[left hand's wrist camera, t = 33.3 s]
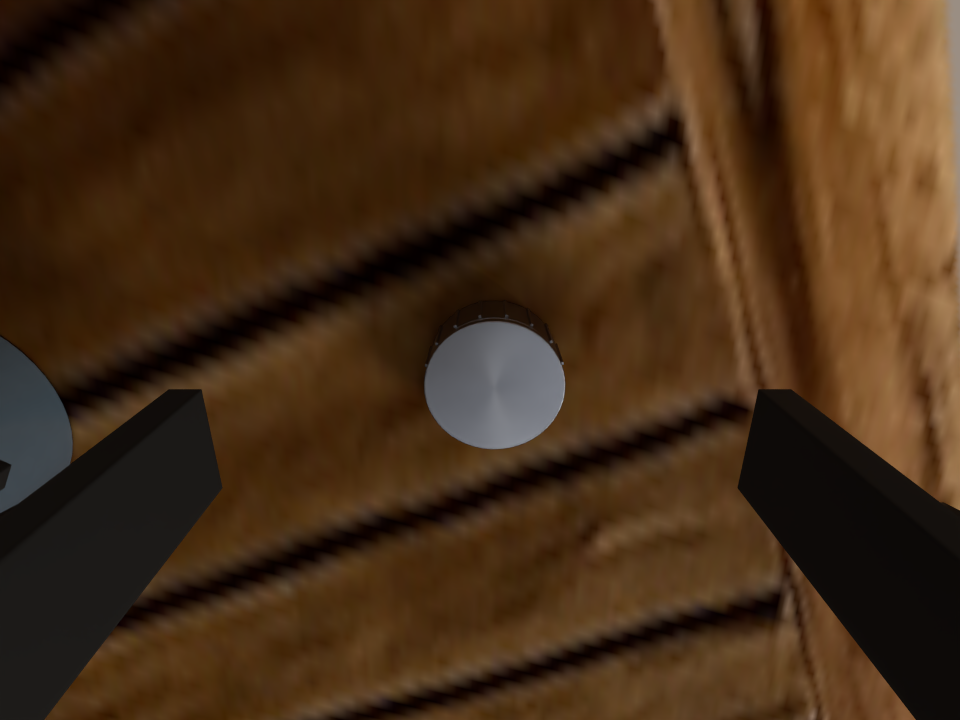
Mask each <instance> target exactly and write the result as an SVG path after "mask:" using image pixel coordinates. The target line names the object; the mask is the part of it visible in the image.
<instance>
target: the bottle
mask: <svg viewBox="0 0 960 720" xmlns="http://www.w3.org/2000/svg"><path fill="white" fill-rule="evenodd" d="M72 453H73V437H72V429H71V425H70V421H69V418H68V415H67V412H66V410H65V407H64V405H63V403H62V401H61V399H60V397H59V395H58V394H57V392H56V390H55V389H54V387H53V386H52V384H51V383H50V382H49V380H48V379H47V377H46V376H45V375H44V374H43V373H42V372H41V370H40V369H39V368H38V367H37V366H36V365H35V364H34V363H33V362H32V361H31V360H30V359H29V358H28V357H27V356H26V355H25V354H24V353H23V352H21V351H20V350H19V349H17V348H16V347H15V346H14V345H12V344H11V343H10V342H9V341H7V340H5V339H4V338H2V337H1V336H0V460H2V461H4V462H6V463H9V464H11V469H10V472H9V475H8V479H7V482H6V486H5V488H4V489H2V490H1V491H0V513H1V512H3V511H5V510H7V509H9V508H11V507H13V506H15V505H17V504H19V503H20V502H21V501H23V500H24V499H25V498H27V497H28V496H29V495H30V494H32V493H33V492H34V491H36V490H37V489H38V488H40V487H41V486H42V485H44V484H45V483H46V482H48V481H49V480H50V479H52V478H53V477H54V476H56V475H57V474H58V473H59V472H61V471H62V470H63V469H65V468H66V467H67V466H69V465H70V462H71V458H72Z"/></svg>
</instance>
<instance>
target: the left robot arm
mask: <svg viewBox="0 0 960 720" xmlns="http://www.w3.org/2000/svg"><path fill="white" fill-rule="evenodd" d="M221 489H222V484H221V479H220V475H219V470H218V465H217V460H216V456H215V451H214V446H213V442H212V437H211V432H210V427H209V423H208V418H207V413H206V409H205V404H204V399H203V395H202V390H201V389H169V390H167V391H166V392H165V393H164V394H162V395H161V396H160V397H158V398H157V399H156V400H154V401H153V402H152V403H150V404H149V405H148V406H146V407H145V408H144V409H142V410H141V411H140V412H139V413H137V414H136V415H135V416H133V417H132V418H131V419H129V420H128V421H127V422H125V423H124V424H123V425H121V426H120V427H119V428H117V429H116V430H115V431H113V432H112V433H111V434H110V435H108V436H107V437H106V438H104V439H103V440H102V441H100V442H99V443H98V444H96V445H95V446H94V447H92V448H91V449H90V450H88V451H87V452H86V453H85V454H83V455H82V456H81V457H79V458H78V459H77V460H75V461H74V462H73V463H71V464H70V465H69V466H67V467H66V468H65V469H63V470H62V471H61V472H59V473H58V474H57V475H56V476H54V477H53V478H52V479H50V480H49V481H48V482H46V483H45V484H44V485H42V486H41V487H40V488H38V489H37V490H36V491H34V492H33V493H32V494H30V495H29V496H28V497H27V498H25V499H24V500H23V501H21V502H20V503H19V504H17V505H15V506H13V507H11V508H9V509H7V510H5V511H3V512H1V513H0V720H44V719H45V718H46V716H47V715H48V714H49V713H50V711H51V710H52V709H53V707H54V706H55V705H56V703H57V702H58V701H59V700H60V698H61V697H62V696H63V694H64V693H65V692H66V690H67V689H68V688H69V687H70V685H71V684H72V683H73V681H74V680H75V679H76V678H77V676H78V675H79V674H80V672H81V671H82V670H83V668H84V667H85V666H86V665H87V663H88V662H89V661H90V659H91V658H92V657H93V655H94V654H95V653H96V652H97V650H98V649H99V648H100V646H101V645H102V644H103V642H104V641H105V640H106V639H107V637H108V636H109V635H110V633H111V632H112V631H113V629H114V628H115V627H116V626H117V624H118V623H119V622H120V620H121V619H122V618H123V616H124V615H125V614H126V613H127V611H128V610H129V609H130V607H131V606H132V605H133V603H134V602H135V601H136V600H137V598H138V597H139V596H140V594H141V593H142V592H143V590H144V589H145V588H146V587H147V585H148V584H149V583H150V581H151V580H152V579H153V577H154V576H155V575H156V574H157V572H158V571H159V570H160V568H161V567H162V566H163V564H164V563H165V562H166V561H167V559H168V558H169V557H170V555H171V554H172V553H173V551H174V550H175V549H176V548H177V546H178V545H179V544H180V542H181V541H182V540H183V538H184V537H185V536H186V535H187V533H188V532H189V531H190V529H191V528H192V527H193V525H194V524H195V523H196V522H197V520H198V519H199V518H200V516H201V515H202V514H203V512H204V511H205V510H206V509H207V507H208V506H209V505H210V503H211V502H212V501H213V500H214V498H215V497H216V496H217V494H218V493H219V492H220V490H221ZM738 489H739V490H740V492H741V493H742V494H743V496H744V497H745V498H746V500H747V501H748V502H749V503H750V505H751V506H752V507H753V509H754V510H755V511H756V512H757V514H758V515H759V516H760V518H761V519H762V520H763V522H764V523H765V524H766V525H767V527H768V528H769V529H770V531H771V532H772V533H773V535H774V536H775V537H776V538H777V540H778V541H779V542H780V544H781V545H782V546H783V548H784V549H785V550H786V551H787V553H788V554H789V555H790V557H791V558H792V559H793V561H794V562H795V563H796V564H797V566H798V567H799V568H800V570H801V571H802V572H803V574H804V575H805V576H806V577H807V579H808V580H809V581H810V583H811V584H812V585H813V587H814V588H815V589H816V590H817V592H818V593H819V594H820V596H821V597H822V598H823V600H824V601H825V602H826V603H827V605H828V606H829V607H830V609H831V610H832V611H833V613H834V614H835V615H836V616H837V618H838V619H839V620H840V622H841V623H842V624H843V626H844V627H845V628H846V629H847V631H848V632H849V633H850V635H851V636H852V637H853V639H854V640H855V641H856V642H857V644H858V645H859V646H860V648H861V649H862V650H863V652H864V653H865V654H866V655H867V657H868V658H869V659H870V661H871V662H872V663H873V665H874V666H875V667H876V668H877V670H878V671H879V672H880V674H881V675H882V676H883V678H884V679H885V680H886V681H887V683H888V684H889V685H890V687H891V688H892V689H893V691H894V692H895V693H896V694H897V696H898V697H899V698H900V700H901V701H902V702H903V703H904V705H905V706H906V707H907V709H908V710H909V711H910V713H911V714H912V715H913V716H914V718H915V719H916V720H960V510H958V509H956V508H954V507H952V506H950V505H948V504H946V503H940V502H939V501H937V500H936V499H935V498H933V497H932V496H931V495H930V494H928V493H927V492H926V491H924V490H923V489H922V488H920V487H919V486H918V485H916V484H915V483H914V482H912V481H911V480H910V479H908V478H907V477H906V476H904V475H903V474H902V473H901V472H899V471H898V470H897V469H895V468H894V467H893V466H891V465H890V464H889V463H887V462H886V461H885V460H883V459H882V458H881V457H879V456H878V455H877V454H875V453H874V452H873V451H872V450H870V449H869V448H868V447H866V446H865V445H864V444H862V443H861V442H860V441H858V440H857V439H856V438H854V437H853V436H852V435H850V434H849V433H848V432H847V431H845V430H844V429H843V428H841V427H840V426H839V425H837V424H836V423H835V422H833V421H832V420H831V419H829V418H828V417H827V416H825V415H824V414H823V413H821V412H820V411H819V410H818V409H816V408H815V407H814V406H812V405H811V404H810V403H808V402H807V401H806V400H804V399H803V398H802V397H800V396H799V395H798V394H796V393H795V392H794V391H793V390H791V389H759V390H758V395H757V399H756V404H755V409H754V413H753V418H752V423H751V427H750V432H749V437H748V442H747V446H746V451H745V456H744V460H743V465H742V470H741V475H740V479H739V484H738Z"/></svg>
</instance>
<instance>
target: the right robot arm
mask: <svg viewBox="0 0 960 720" xmlns="http://www.w3.org/2000/svg"><path fill="white" fill-rule="evenodd" d="M10 469H11V464H9V463H6V462H4V461H2V460H0V491H1V490H2V489H4V488H5V486H6V482H7V479H8V475H9V472H10Z"/></svg>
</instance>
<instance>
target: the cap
mask: <svg viewBox="0 0 960 720" xmlns="http://www.w3.org/2000/svg"><path fill="white" fill-rule="evenodd" d="M563 364H564V363H563V360H562V357H561V354H560V351H559V348H558V346H557V344H555V343H554V340H553V338H552V335H551V333H550V331H549V328H548V325H547V324H546V323H545V324H544V323H543V322H542V321H541V320H540V319H539V318H538V317H537V316H536V315H535V314H533V313H532V312H530V309H529V308H527V309H525V308H523V307H521V306H519V305H516V304H513V303H509V302H507V300H504V301H485V302H482V301H479V303H475V304H472V305H470V306H467V307H465V308H463V309H461V310H459V309H458V310H457V311H456V313H455V314H454V315H452V316H451V317H450V318H449V319H448V320H447V321H446V322H445V323H444V325H443V326H441V325H440V327H439V330H438V334H437V336H436V338H435V341H434V343H433V346H430V350H429V353H428V357H427V360H426V364H425V367H427V368H426V372H425V377H424V393H425V398H426V402H427V405H428V407H429V410H430V412H431V414H432V415H433V417H434V419H435V420H436V421H437V423H438V424H439V425H440V426H441V427H442V428H443V429H444V430H445V431H446V432H447V433H448V434H450V435H451V436H452V437H454V438H456V439H457V440H459V441H461V442H463V443H465V444H468V445H471V446H474V447H479V448H485V449H504V448H510V447H514V446H518V445H521V444H523V443H526V442H528V441H530V440H532V439H533V438H535V437H536V436H538V435H539V434H541V433H542V432H543V431H544V430H545V429H546V428H547V427H548V426H549V425H550V424H551V423H552V422H553V420H554V419H555V417H556V416H557V414H558V412H559V410H560V408H561V405H562V402H563V399H564V394H565V375H564V371H563V367H562V365H563Z"/></svg>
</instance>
